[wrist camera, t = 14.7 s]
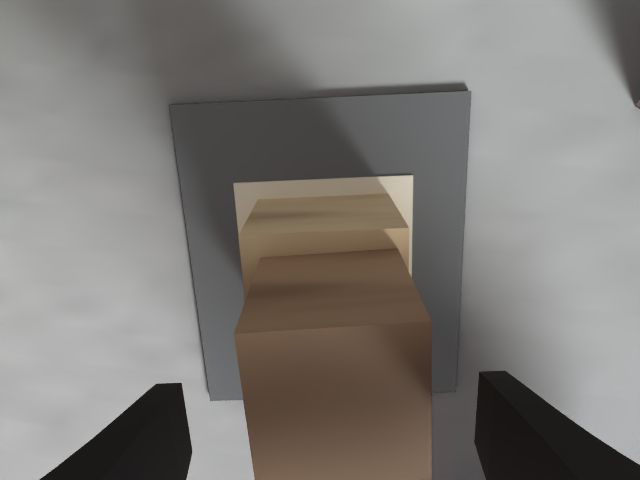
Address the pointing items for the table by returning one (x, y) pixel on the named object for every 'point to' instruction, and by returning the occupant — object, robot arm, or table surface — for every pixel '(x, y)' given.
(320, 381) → the walnut block
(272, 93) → the table surface
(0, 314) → the table surface
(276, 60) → the table surface
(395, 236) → the oak block
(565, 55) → the table surface
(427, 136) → the gray rectangular panel
